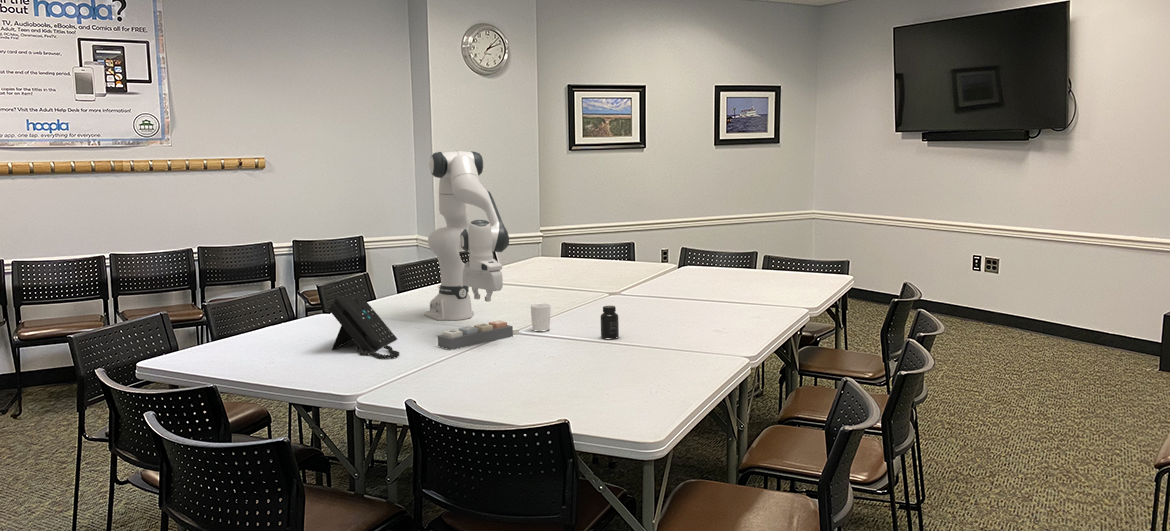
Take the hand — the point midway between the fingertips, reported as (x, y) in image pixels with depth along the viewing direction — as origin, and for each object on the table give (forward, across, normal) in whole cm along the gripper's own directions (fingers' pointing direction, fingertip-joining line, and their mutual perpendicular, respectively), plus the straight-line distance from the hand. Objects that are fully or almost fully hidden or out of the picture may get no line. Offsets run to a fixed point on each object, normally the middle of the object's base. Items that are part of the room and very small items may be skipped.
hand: (482, 300), depth 316 cm
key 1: (+12, 0, -14) cm, 18 cm away
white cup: (+15, +4, +26) cm, 30 cm away
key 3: (+12, 0, 0) cm, 12 cm away
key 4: (+12, 0, +7) cm, 14 cm away
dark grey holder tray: (+15, 0, -4) cm, 16 cm away
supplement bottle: (+15, +33, +34) cm, 50 cm away
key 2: (+12, 0, -7) cm, 14 cm away
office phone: (+15, -19, -36) cm, 43 cm away
